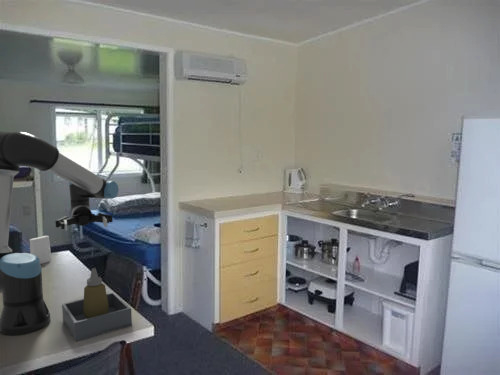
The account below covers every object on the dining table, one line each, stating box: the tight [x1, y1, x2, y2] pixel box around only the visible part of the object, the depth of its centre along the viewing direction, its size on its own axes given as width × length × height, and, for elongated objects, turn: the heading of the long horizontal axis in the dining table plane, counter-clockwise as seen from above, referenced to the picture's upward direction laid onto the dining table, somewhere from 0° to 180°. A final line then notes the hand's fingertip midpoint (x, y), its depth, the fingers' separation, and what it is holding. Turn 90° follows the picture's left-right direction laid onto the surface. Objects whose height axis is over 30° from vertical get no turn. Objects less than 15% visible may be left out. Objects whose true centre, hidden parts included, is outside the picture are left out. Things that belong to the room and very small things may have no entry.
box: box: [61, 291, 133, 342], centre depth 138 cm, size 18×18×6 cm
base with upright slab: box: [29, 235, 52, 265], centre depth 207 cm, size 9×9×12 cm
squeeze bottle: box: [83, 267, 109, 319], centre depth 137 cm, size 8×8×18 cm
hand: (86, 225), depth 151 cm, fingers open, 13 cm apart
